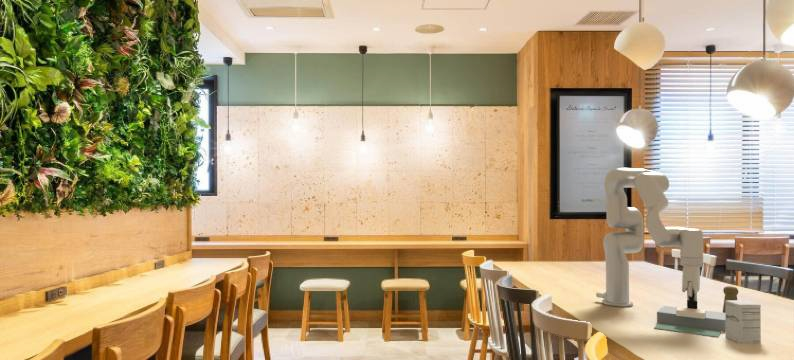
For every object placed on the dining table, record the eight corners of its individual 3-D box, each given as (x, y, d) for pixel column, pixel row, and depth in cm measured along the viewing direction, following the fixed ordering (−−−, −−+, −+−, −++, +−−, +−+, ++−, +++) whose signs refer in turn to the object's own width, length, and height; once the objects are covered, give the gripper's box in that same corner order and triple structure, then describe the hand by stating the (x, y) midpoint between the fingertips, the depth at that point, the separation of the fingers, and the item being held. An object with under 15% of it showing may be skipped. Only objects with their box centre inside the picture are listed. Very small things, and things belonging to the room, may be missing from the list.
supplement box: (724, 337, 183) (724, 300, 183) (745, 337, 184) (744, 299, 184) (740, 343, 176) (739, 304, 176) (761, 343, 176) (761, 304, 177)
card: (676, 315, 198) (676, 310, 198) (678, 312, 203) (678, 307, 203) (704, 318, 193) (704, 313, 193) (705, 315, 198) (705, 310, 198)
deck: (656, 322, 204) (656, 311, 204) (664, 315, 216) (664, 305, 216) (724, 331, 191) (724, 320, 191) (728, 324, 203) (728, 313, 203)
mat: (653, 328, 195) (653, 327, 195) (659, 323, 203) (659, 322, 203) (718, 337, 183) (718, 336, 183) (721, 331, 191) (721, 330, 191)
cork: (742, 315, 217) (742, 288, 217) (725, 315, 218) (725, 287, 218) (736, 312, 222) (735, 285, 223) (720, 312, 224) (719, 285, 224)
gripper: (683, 259, 211) (684, 306, 211) (677, 263, 199) (677, 313, 198) (705, 260, 207) (706, 309, 206) (700, 264, 195) (701, 316, 194)
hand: (692, 311), depth 202 cm, fingers closed
